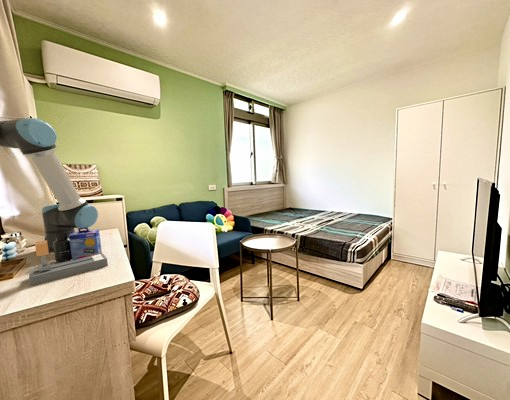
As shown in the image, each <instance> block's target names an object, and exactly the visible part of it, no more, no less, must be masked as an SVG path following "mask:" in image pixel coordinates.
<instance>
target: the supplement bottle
mask: <svg viewBox="0 0 510 400" xmlns="http://www.w3.org/2000/svg"><path fill="white" fill-rule="evenodd" d="M69 235H70V233H69V232H66V233H59V234H56V235H55V236H56V239H57V240H56V241H54V243H53V246H54V251H53V253H54V262H56V263H63V262H67V261H72V254H71V246H70V239H69Z"/></svg>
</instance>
